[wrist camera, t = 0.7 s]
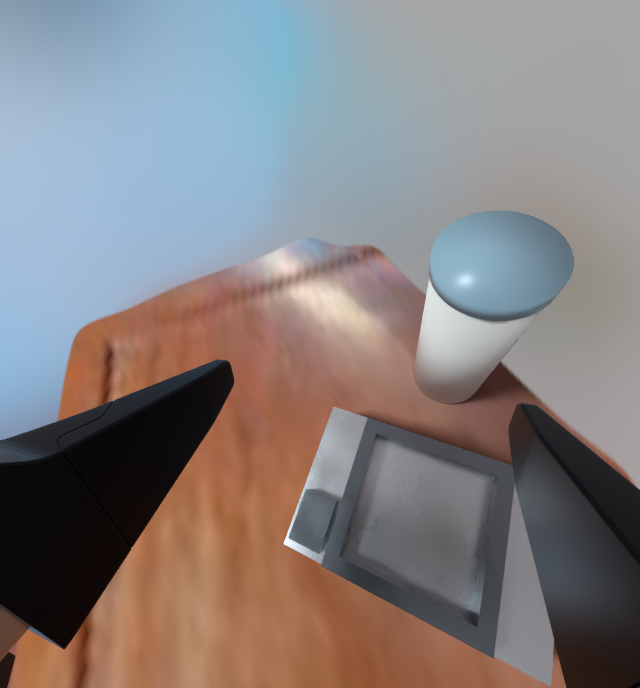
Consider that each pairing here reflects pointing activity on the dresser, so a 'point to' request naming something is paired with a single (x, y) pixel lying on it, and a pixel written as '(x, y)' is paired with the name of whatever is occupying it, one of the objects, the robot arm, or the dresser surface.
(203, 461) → the dresser surface
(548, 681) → the digital kitchen scale
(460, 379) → the lidded container
